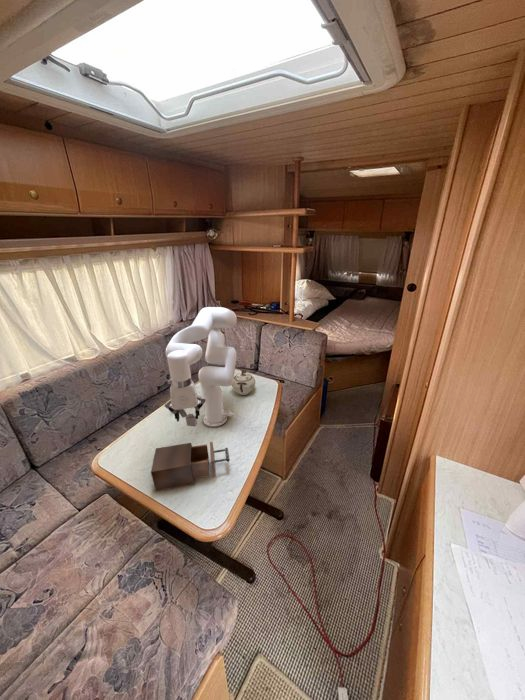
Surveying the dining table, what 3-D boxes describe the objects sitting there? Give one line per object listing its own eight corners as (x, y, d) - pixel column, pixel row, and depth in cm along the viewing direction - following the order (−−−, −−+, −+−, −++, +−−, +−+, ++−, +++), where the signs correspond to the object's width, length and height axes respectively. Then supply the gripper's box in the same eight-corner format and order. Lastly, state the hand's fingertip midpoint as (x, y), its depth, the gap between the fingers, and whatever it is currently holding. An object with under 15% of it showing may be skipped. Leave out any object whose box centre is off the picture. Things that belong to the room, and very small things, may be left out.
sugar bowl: (234, 383, 181) (233, 363, 175) (257, 383, 180) (256, 363, 174) (229, 400, 163) (227, 378, 157) (254, 400, 162) (253, 378, 156)
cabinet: (194, 460, 121) (191, 442, 117) (193, 483, 110) (190, 464, 106) (159, 466, 118) (155, 448, 114) (155, 490, 107) (150, 472, 103)
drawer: (228, 453, 123) (226, 439, 119) (231, 473, 112) (229, 458, 109) (183, 461, 119) (180, 446, 116) (181, 483, 109) (178, 467, 106)
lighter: (197, 424, 115) (195, 408, 112) (195, 426, 113) (193, 410, 110) (182, 422, 116) (179, 406, 113) (180, 424, 115) (177, 409, 112)
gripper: (156, 388, 102) (165, 427, 109) (204, 383, 105) (209, 421, 112) (160, 379, 109) (167, 415, 116) (204, 374, 111) (209, 410, 118)
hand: (187, 418), depth 114 cm, fingers closed on lighter, 7 cm apart
